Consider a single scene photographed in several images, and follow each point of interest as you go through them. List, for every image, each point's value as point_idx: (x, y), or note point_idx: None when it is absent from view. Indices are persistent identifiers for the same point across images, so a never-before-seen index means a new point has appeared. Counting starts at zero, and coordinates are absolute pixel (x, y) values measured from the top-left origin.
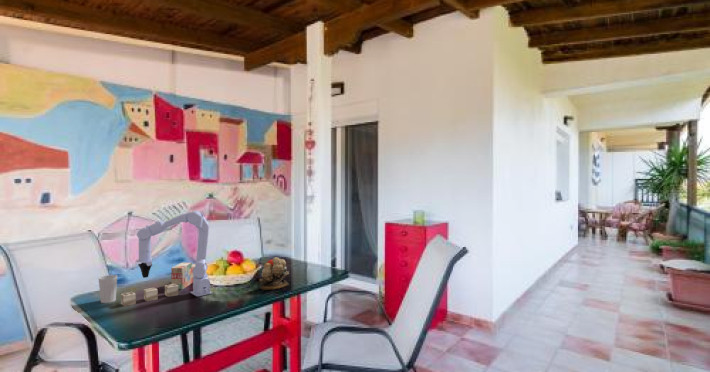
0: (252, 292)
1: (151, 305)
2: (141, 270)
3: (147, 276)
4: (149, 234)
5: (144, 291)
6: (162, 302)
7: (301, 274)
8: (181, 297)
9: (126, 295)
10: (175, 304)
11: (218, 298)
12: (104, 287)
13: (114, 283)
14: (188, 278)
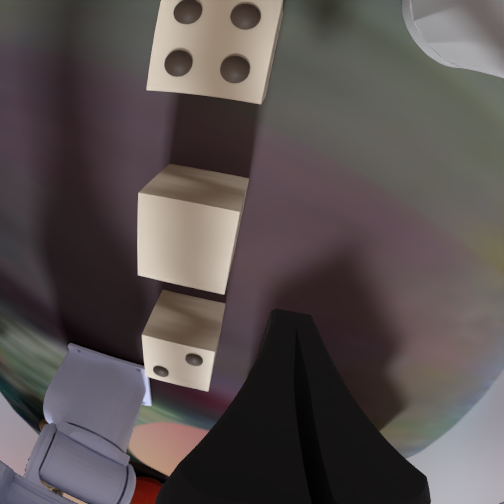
0: (42, 406)
1: (66, 148)
2: (312, 398)
3: (260, 351)
4: None
5: (218, 200)
6: (78, 216)
7: None
8: (102, 313)
9: (168, 9)
10: (18, 239)
11: (23, 352)
12: None
13: (486, 5)
14: None
